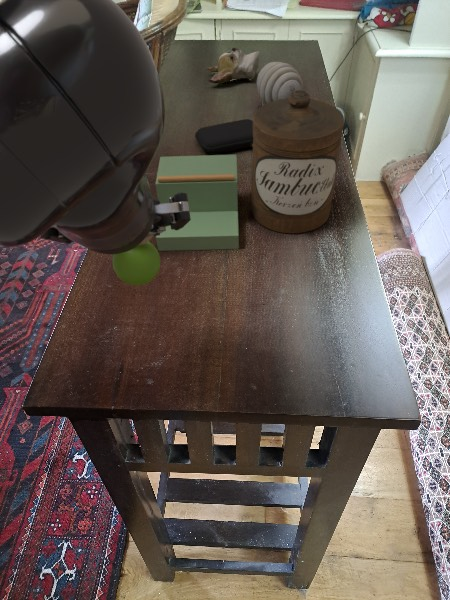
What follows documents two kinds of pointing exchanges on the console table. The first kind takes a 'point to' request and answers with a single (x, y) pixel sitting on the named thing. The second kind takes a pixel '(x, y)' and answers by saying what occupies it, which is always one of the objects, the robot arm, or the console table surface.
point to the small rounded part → (137, 263)
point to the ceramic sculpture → (235, 66)
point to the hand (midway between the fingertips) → (126, 229)
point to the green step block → (201, 201)
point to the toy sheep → (277, 82)
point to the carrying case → (226, 136)
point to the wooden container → (295, 162)
